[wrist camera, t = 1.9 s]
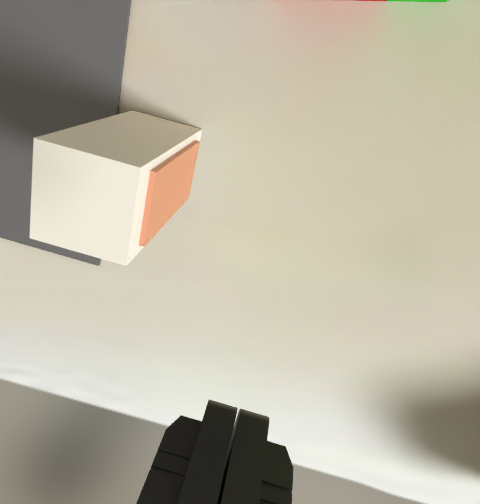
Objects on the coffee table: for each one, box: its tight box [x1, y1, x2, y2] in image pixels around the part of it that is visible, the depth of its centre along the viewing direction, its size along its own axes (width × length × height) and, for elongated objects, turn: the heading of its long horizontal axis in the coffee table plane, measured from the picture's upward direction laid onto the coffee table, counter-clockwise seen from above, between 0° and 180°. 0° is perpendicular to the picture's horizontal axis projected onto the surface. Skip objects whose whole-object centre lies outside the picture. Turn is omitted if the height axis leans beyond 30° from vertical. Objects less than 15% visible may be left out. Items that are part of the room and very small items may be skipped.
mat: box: [0, 0, 131, 266], centre depth 32 cm, size 20×12×1 cm, turn 167°
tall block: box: [30, 110, 202, 266], centre depth 26 cm, size 5×5×12 cm
